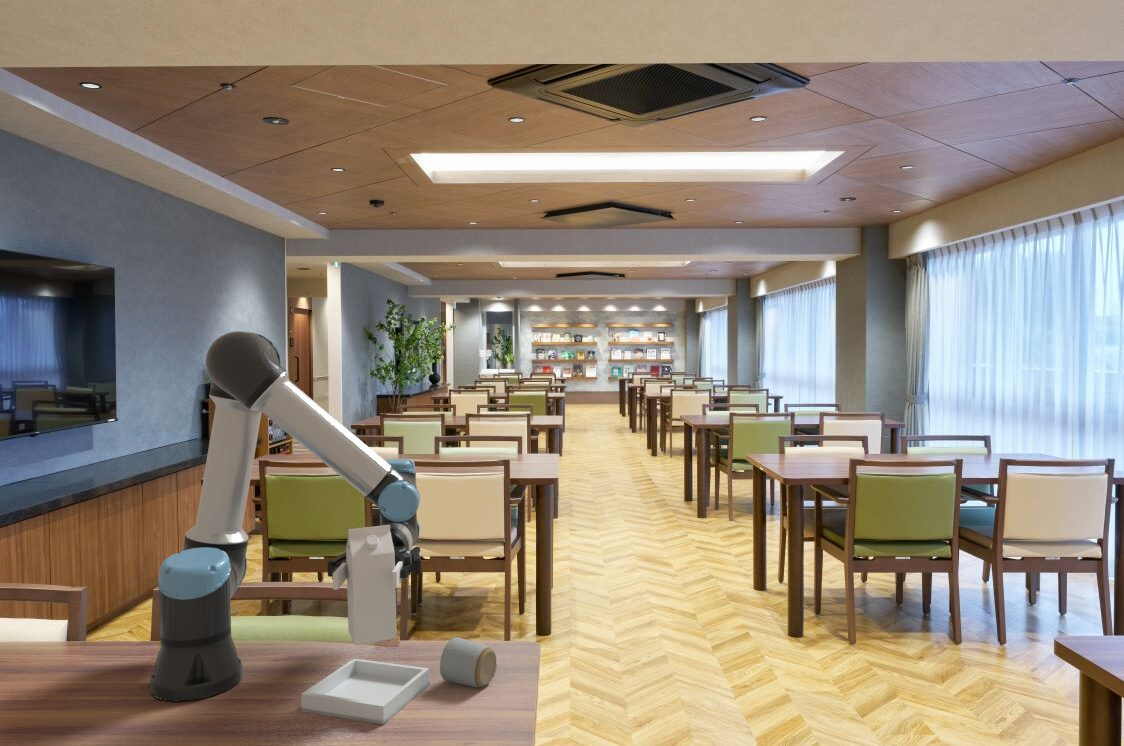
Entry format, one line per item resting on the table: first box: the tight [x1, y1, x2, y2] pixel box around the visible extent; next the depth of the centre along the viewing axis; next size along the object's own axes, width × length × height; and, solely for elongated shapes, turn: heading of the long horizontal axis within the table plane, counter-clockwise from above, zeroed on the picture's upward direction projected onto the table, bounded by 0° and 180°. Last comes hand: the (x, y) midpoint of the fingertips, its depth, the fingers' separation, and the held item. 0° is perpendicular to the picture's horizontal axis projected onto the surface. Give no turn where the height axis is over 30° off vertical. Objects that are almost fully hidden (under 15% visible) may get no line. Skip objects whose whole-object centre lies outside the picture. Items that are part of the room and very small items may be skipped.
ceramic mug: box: [439, 636, 498, 688], centre depth 142 cm, size 11×8×8 cm
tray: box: [301, 658, 430, 725], centre depth 135 cm, size 16×16×3 cm
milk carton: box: [345, 525, 398, 646], centre depth 135 cm, size 7×7×19 cm
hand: (364, 580), depth 130 cm, fingers closed on milk carton, 9 cm apart
